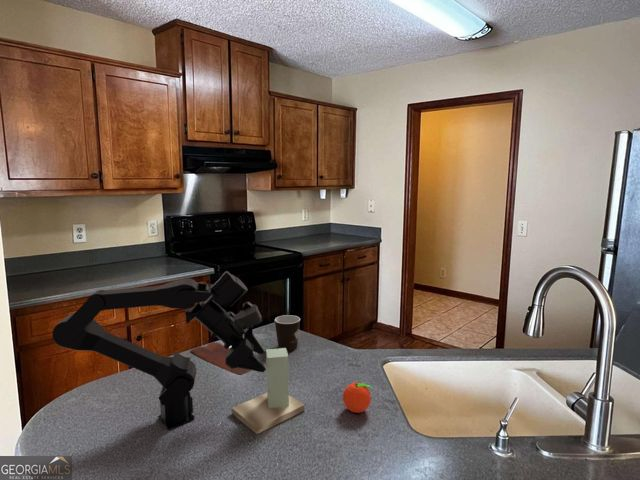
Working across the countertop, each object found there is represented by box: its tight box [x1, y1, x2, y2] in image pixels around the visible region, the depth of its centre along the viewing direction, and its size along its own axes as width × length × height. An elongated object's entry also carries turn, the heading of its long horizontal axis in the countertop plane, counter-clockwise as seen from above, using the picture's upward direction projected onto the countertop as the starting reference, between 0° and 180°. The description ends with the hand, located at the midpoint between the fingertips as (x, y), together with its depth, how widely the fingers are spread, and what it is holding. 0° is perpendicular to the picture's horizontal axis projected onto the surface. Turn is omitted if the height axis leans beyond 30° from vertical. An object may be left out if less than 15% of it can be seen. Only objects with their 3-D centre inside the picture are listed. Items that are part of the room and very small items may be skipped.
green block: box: [265, 348, 290, 408], centre depth 101 cm, size 5×5×13 cm
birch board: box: [231, 392, 306, 435], centre depth 100 cm, size 14×11×2 cm
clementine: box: [342, 382, 374, 414], centre depth 100 cm, size 8×7×7 cm
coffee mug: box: [274, 314, 301, 352], centre depth 139 cm, size 12×9×10 cm
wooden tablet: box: [190, 341, 252, 375], centre depth 130 cm, size 27×10×2 cm, turn 48°
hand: (263, 361), depth 100 cm, fingers open, 9 cm apart
